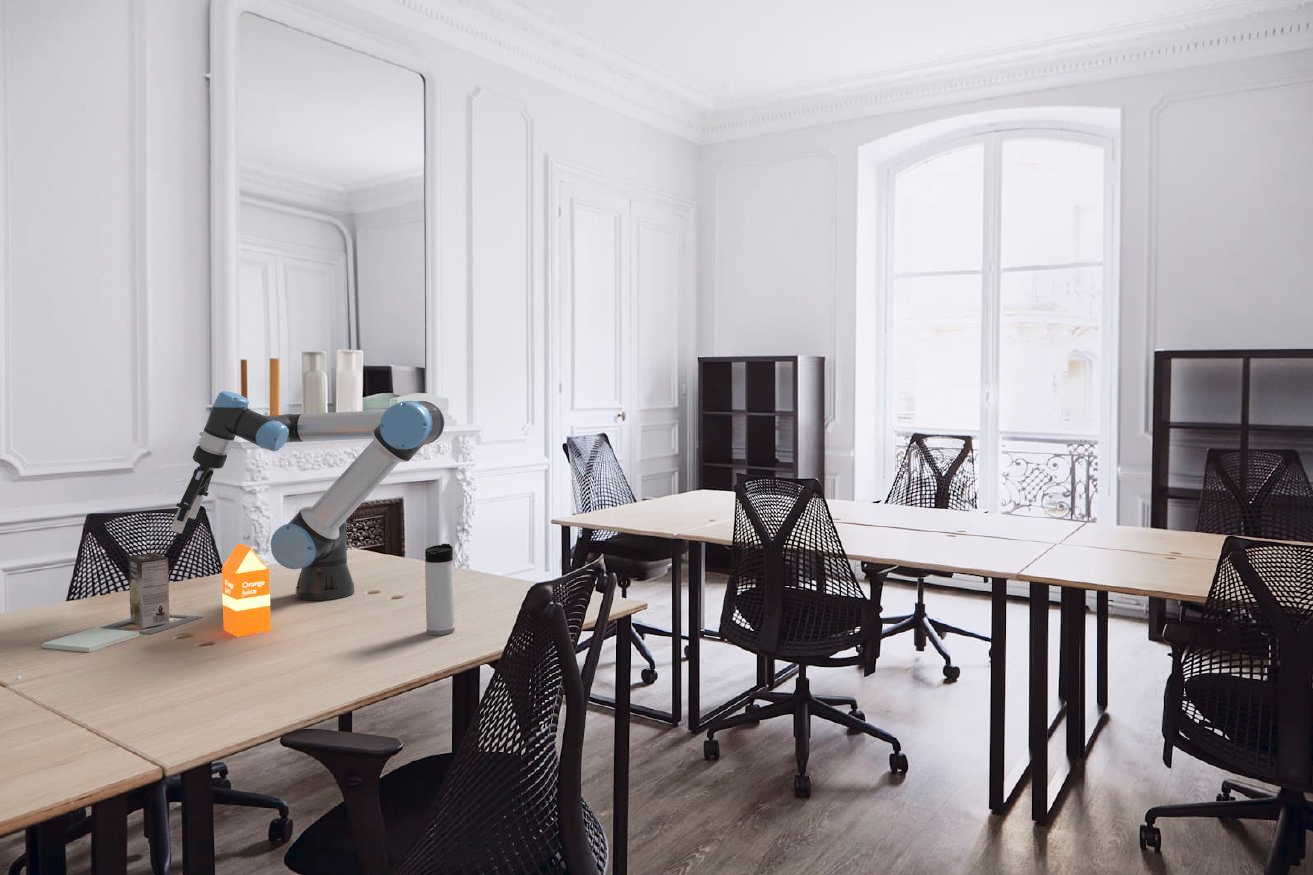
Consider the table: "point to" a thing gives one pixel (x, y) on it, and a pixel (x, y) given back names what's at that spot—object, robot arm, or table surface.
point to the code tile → (153, 630)
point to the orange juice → (245, 593)
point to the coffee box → (149, 589)
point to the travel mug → (439, 589)
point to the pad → (91, 640)
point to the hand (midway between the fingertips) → (182, 524)
